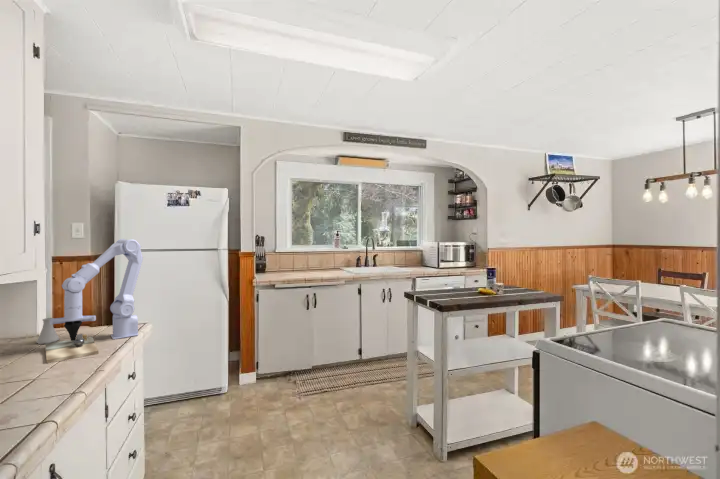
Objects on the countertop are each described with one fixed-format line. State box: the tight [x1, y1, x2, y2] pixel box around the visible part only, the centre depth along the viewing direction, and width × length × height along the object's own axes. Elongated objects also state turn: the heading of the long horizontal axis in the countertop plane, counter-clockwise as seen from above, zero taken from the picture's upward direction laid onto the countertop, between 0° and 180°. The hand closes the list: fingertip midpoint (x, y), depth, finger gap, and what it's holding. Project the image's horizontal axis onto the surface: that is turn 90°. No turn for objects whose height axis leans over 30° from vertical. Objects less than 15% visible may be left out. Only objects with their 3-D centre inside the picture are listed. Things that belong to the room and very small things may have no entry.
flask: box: [35, 317, 60, 345], centre depth 149 cm, size 7×7×10 cm
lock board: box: [44, 334, 99, 364], centre depth 138 cm, size 15×22×4 cm
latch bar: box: [74, 333, 84, 345], centre depth 143 cm, size 11×3×2 cm, turn 39°
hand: (73, 339), depth 143 cm, fingers closed
